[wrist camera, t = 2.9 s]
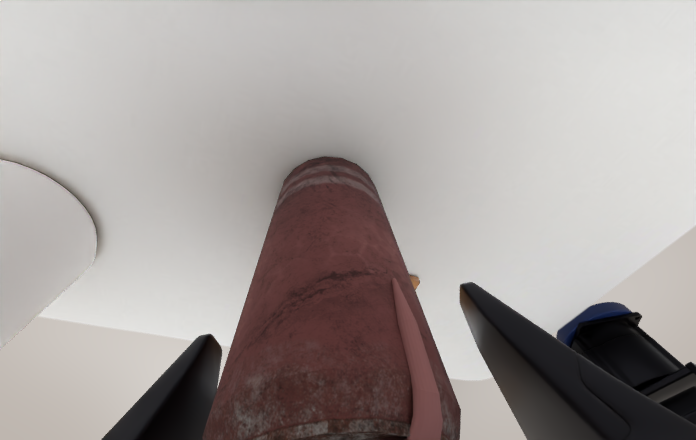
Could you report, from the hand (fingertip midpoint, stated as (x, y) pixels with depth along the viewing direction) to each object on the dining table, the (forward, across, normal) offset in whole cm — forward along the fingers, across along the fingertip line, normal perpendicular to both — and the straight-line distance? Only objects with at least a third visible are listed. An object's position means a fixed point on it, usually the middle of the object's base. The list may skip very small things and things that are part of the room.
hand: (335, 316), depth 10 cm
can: (+10, 0, 0) cm, 10 cm away
